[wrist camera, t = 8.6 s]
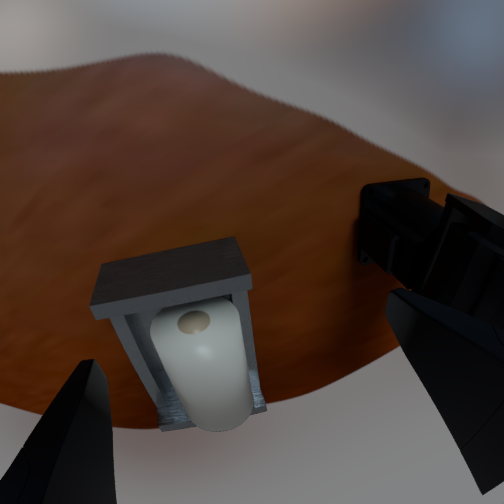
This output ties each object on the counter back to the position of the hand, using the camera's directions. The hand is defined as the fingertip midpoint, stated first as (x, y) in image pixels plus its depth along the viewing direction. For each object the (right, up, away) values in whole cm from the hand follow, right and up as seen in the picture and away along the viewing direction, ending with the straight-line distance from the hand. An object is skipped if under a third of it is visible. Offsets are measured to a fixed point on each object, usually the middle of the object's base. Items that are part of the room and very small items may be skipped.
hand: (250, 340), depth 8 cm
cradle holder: (-5, -3, +15) cm, 16 cm away
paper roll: (-5, -5, +14) cm, 15 cm away
